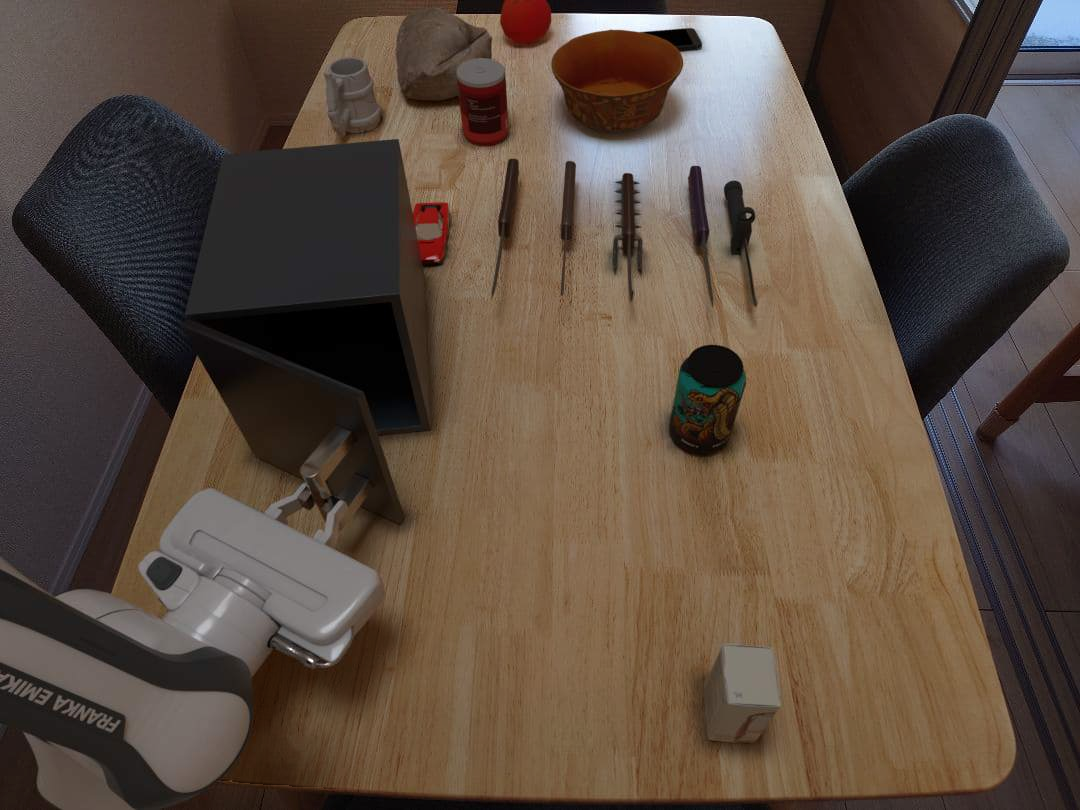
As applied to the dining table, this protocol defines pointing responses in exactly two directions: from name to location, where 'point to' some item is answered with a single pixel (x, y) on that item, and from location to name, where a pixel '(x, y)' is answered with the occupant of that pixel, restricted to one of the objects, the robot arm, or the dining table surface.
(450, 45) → the rock
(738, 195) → the knife set
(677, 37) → the smartphone
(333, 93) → the mug
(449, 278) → the dining table surface
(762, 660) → the white carton box
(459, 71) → the canned food
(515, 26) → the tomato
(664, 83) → the bowl
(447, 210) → the toy car
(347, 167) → the cupboard
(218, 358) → the cupboard door
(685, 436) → the beverage can
